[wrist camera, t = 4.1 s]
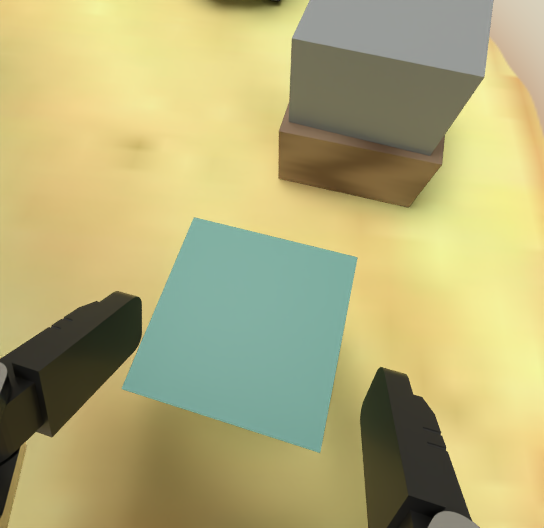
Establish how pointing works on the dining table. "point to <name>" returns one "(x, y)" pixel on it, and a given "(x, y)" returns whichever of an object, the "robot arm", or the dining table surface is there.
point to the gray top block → (388, 67)
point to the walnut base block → (354, 164)
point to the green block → (248, 332)
